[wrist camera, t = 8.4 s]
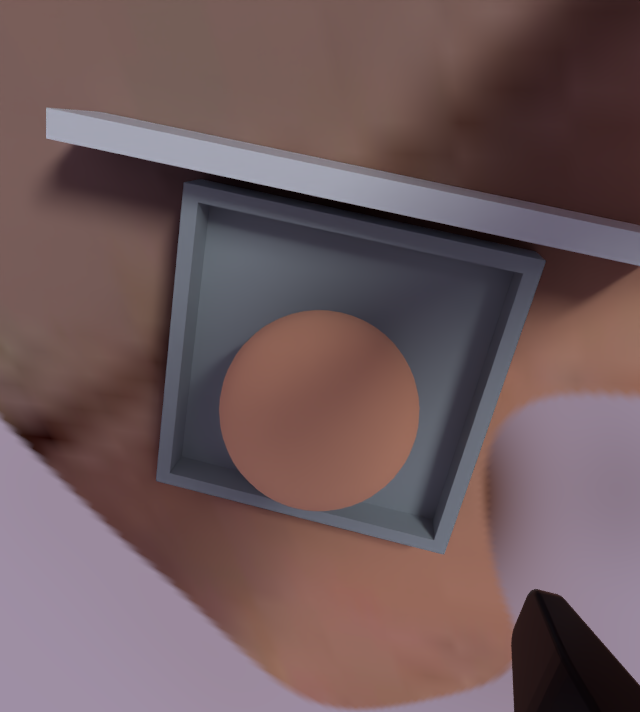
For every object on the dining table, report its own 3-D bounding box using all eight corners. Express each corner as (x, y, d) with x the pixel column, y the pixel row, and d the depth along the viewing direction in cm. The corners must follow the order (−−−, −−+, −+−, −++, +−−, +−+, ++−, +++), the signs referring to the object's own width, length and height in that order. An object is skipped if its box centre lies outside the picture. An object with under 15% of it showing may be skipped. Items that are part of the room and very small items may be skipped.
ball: (437, 309, 19) (452, 383, 13) (394, 461, 21) (391, 579, 15) (260, 270, 19) (203, 327, 14) (237, 424, 21) (179, 526, 16)
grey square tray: (535, 251, 18) (545, 260, 16) (441, 528, 22) (443, 554, 21) (200, 178, 19) (184, 182, 17) (171, 460, 23) (155, 481, 21)
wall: (667, 230, 17) (716, 248, 14) (656, 256, 17) (702, 279, 15) (101, 112, 18) (46, 107, 16) (100, 138, 19) (46, 138, 16)
